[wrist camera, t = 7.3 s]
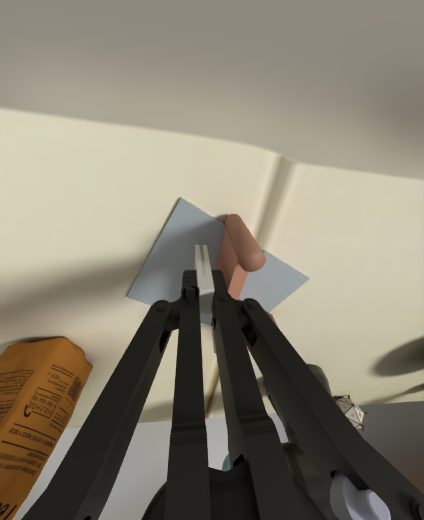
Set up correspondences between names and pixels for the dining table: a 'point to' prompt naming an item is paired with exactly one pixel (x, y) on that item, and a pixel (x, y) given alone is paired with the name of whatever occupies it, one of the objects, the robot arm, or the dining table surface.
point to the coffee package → (34, 411)
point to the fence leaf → (238, 255)
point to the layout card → (211, 234)
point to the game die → (351, 411)
